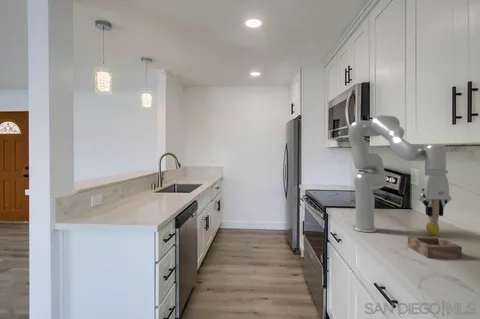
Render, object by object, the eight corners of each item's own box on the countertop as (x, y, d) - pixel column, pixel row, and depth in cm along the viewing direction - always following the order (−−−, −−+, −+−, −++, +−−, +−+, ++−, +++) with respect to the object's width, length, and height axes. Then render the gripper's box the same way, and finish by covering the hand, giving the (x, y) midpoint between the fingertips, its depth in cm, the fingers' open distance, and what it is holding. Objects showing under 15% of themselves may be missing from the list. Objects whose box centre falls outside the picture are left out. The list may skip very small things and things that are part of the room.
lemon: (436, 237, 149) (436, 221, 149) (424, 235, 153) (424, 219, 153) (440, 235, 152) (441, 220, 152) (428, 233, 157) (429, 218, 156)
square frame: (407, 246, 135) (407, 236, 135) (438, 246, 136) (438, 236, 135) (427, 257, 121) (428, 247, 121) (461, 257, 122) (461, 246, 121)
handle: (422, 222, 132) (425, 188, 131) (439, 223, 130) (441, 189, 129) (426, 225, 127) (428, 190, 126) (443, 226, 125) (446, 191, 124)
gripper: (448, 172, 131) (447, 213, 132) (410, 172, 131) (409, 213, 131) (461, 173, 124) (460, 217, 124) (421, 173, 123) (420, 217, 124)
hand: (434, 215), depth 128 cm, fingers closed on handle, 4 cm apart
